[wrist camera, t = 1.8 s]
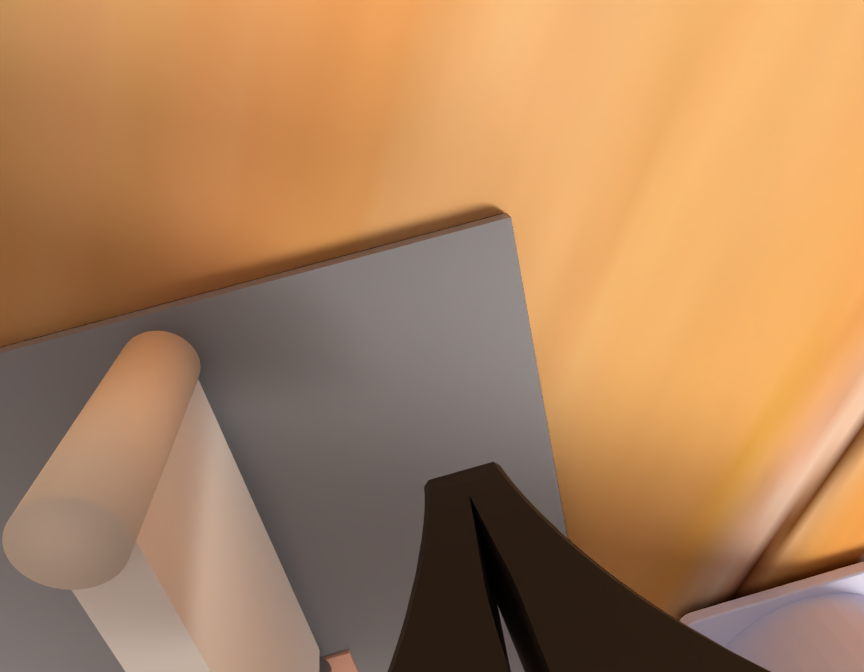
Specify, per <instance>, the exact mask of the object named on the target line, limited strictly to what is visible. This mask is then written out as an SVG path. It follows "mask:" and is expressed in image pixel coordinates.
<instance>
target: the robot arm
mask: <svg viewBox="0 0 864 672" xmlns="http://www.w3.org/2000/svg"><path fill="white" fill-rule="evenodd" d="M424 493H425V509H424V522H423V531H422V539H421V545H420V551H419V557H418V563H417V569H416V574H415V578H414V583H413V587H412V591H411V595H410V599H409V603H408V607H407V611H406V615H405V619H404V622H403V626H402V629H401V633H400V636H399V639H398V642H397V645H396V648H395V651H394V654H393V657H392V660H391V663H390V666H389V669H388V672H511V669H510V664H509V659H508V654H507V649H506V644H505V640H504V635H503V630H502V625H501V620H500V615H499V610H500V612H501V615H502V617H503V620H504V622H505V625H506V627H507V629H508V632H509V634H510V637H511V639H512V642H513V644H514V647H515V649H516V652H517V654H518V656H519V659H520V661H521V664H522V666H523V669H524V671H525V672H864V561H863V562H860V563H856V564H853V565H850V566H846V567H843V568H839V569H836V570H833V571H829V572H826V573H822V574H819V575H816V576H812V577H809V578H805V579H802V580H799V581H795V582H792V583H788V584H785V585H782V586H778V587H775V588H772V589H768V590H765V591H761V592H758V593H755V594H751V595H748V596H744V597H741V598H738V599H734V600H731V601H727V602H724V603H721V604H717V605H714V606H710V607H707V608H704V609H700V610H697V611H694V612H690V613H688V614H686V615H684V616H683V617H682V618H681V619H680V621H678V620H677V619H675V618H673V617H672V616H670V615H669V614H667V613H666V612H664V611H663V610H661V609H660V608H658V607H656V606H655V605H653V604H652V603H650V602H649V601H647V600H646V599H644V598H643V597H641V596H640V595H639V594H637V593H636V592H634V591H633V590H632V589H630V588H629V587H627V586H626V585H625V584H623V583H622V582H620V581H619V580H618V579H616V578H615V577H614V576H613V575H611V574H610V573H609V572H607V571H606V570H605V569H604V568H602V567H601V566H600V565H598V564H597V563H596V562H595V561H594V560H592V559H591V558H590V557H589V556H588V555H586V554H585V553H584V552H583V551H582V550H580V549H579V548H578V547H577V546H576V545H575V544H573V543H572V542H571V541H570V540H569V539H568V538H567V537H566V536H564V535H563V534H562V533H561V532H560V531H559V530H558V529H557V528H556V527H555V526H554V525H553V524H552V523H551V522H550V521H549V520H548V519H547V518H546V517H544V516H543V515H542V514H541V513H540V512H539V511H538V510H537V508H536V507H535V506H534V505H533V504H532V503H531V502H530V501H529V500H528V499H527V498H526V497H525V496H524V495H523V494H522V492H521V491H520V490H519V489H518V488H517V487H516V485H515V484H514V483H513V482H512V481H511V479H510V478H509V477H508V476H507V474H506V473H505V472H504V470H503V469H502V467H501V466H500V465H499V464H497V463H495V462H490V463H487V464H483V465H480V466H476V467H473V468H469V469H466V470H462V471H459V472H455V473H451V474H448V475H444V476H441V477H437V478H434V479H430V480H428V482H427V483H426V484H425V486H424ZM498 607H499V610H498Z"/></svg>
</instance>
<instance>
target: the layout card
mask: <svg viewBox="0 0 864 672" xmlns="http://www.w3.org/2000/svg"><path fill="white" fill-rule="evenodd" d="M148 331H166V332H170V333H173V334H176V335H178V336H180V337H182V338H183V339H185V340H186V341H187V342H188V343H190V344H191V346H192V347H193V348H194V349H195V351H196V352H197V354H198V357H199V359H200V365H201V370H200V375H199V378H198V380H199V382H200V384H201V386H202V389H203V391H204V393H205V395H206V397H207V400H208V402H209V404H210V406H211V409H212V411H213V413H214V415H215V418H216V420H217V422H218V424H219V426H220V429H221V431H222V433H223V435H224V438H225V440H226V442H227V444H228V447H229V449H230V451H231V453H232V455H233V458H234V460H235V462H236V464H237V467H238V469H239V471H240V473H241V476H242V478H243V480H244V482H245V484H246V487H247V489H248V491H249V493H250V496H251V498H252V500H253V502H254V505H255V507H256V509H257V511H258V514H259V516H260V518H261V520H262V522H263V525H264V527H265V529H266V531H267V534H268V536H269V538H270V540H271V543H272V545H273V547H274V549H275V551H276V554H277V556H278V558H279V560H280V563H281V565H282V567H283V569H284V572H285V574H286V576H287V578H288V580H289V583H290V585H291V587H292V589H293V592H294V594H295V596H296V598H297V601H298V603H299V605H300V607H301V609H302V612H303V614H304V616H305V618H306V621H307V623H308V625H309V627H310V630H311V632H312V634H313V636H314V638H315V641H316V643H317V645H318V647H319V650H320V655H319V656H320V657H322V658H324V659H326V660H327V661H328V662H329V664H330V665H331V669H332V672H388V669H389V666H390V663H391V660H392V657H393V654H394V651H395V648H396V645H397V642H398V639H399V636H400V633H401V629H402V626H403V622H404V619H405V615H406V611H407V607H408V603H409V599H410V595H411V591H412V587H413V583H414V578H415V574H416V569H417V563H418V557H419V551H420V545H421V539H422V531H423V522H424V509H425V493H424V486H425V484H426V483H427V482H428V480H430V479H434V478H437V477H441V476H444V475H448V474H451V473H455V472H459V471H462V470H466V469H469V468H473V467H476V466H480V465H483V464H487V463H490V462H495V463H497V464H499V465H500V466H501V467H502V469H503V470H504V472H505V473H506V474H507V476H508V477H509V478H510V479H511V481H512V482H513V483H514V484H515V485H516V487H517V488H518V489H519V490H520V491H521V492H522V494H523V495H524V496H525V497H526V498H527V499H528V500H529V501H530V502H531V503H532V504H533V505H534V506H535V507H536V508H537V510H538V511H539V512H540V513H541V514H542V515H543V516H544V517H546V518H547V519H548V520H549V521H550V522H551V523H552V524H553V525H554V526H555V527H556V528H557V529H558V530H559V531H560V532H561V533H562V534H563V535H564V536H566V537H567V532H566V527H565V521H564V515H563V510H562V504H561V498H560V493H559V487H558V481H557V476H556V470H555V464H554V459H553V453H552V447H551V442H550V436H549V430H548V425H547V419H546V413H545V408H544V402H543V396H542V391H541V385H540V379H539V374H538V368H537V362H536V357H535V351H534V345H533V340H532V334H531V328H530V323H529V317H528V311H527V306H526V300H525V294H524V289H523V283H522V277H521V272H520V266H519V260H518V255H517V249H516V243H515V238H514V232H513V226H512V221H511V217H510V216H509V215H508V214H507V213H503V214H500V215H496V216H492V217H488V218H485V219H481V220H477V221H473V222H470V223H466V224H462V225H458V226H455V227H451V228H447V229H443V230H440V231H436V232H432V233H428V234H425V235H421V236H417V237H413V238H410V239H406V240H402V241H398V242H395V243H391V244H387V245H383V246H380V247H376V248H372V249H368V250H365V251H361V252H357V253H353V254H350V255H346V256H342V257H338V258H335V259H331V260H327V261H323V262H320V263H316V264H312V265H308V266H305V267H301V268H297V269H293V270H290V271H286V272H282V273H278V274H275V275H271V276H267V277H263V278H260V279H256V280H252V281H248V282H245V283H241V284H237V285H233V286H230V287H226V288H222V289H218V290H215V291H211V292H207V293H203V294H200V295H196V296H192V297H188V298H185V299H181V300H177V301H173V302H170V303H166V304H162V305H158V306H155V307H151V308H147V309H143V310H140V311H136V312H132V313H128V314H125V315H121V316H117V317H113V318H110V319H106V320H102V321H98V322H95V323H91V324H87V325H83V326H80V327H76V328H72V329H68V330H65V331H61V332H57V333H53V334H50V335H46V336H42V337H38V338H35V339H31V340H27V341H23V342H20V343H16V344H12V345H8V346H5V347H1V348H0V672H125V671H124V669H123V668H122V666H121V664H120V663H119V661H118V660H117V658H116V657H115V655H114V654H113V652H112V651H111V649H110V648H109V646H108V645H107V643H106V642H105V640H104V639H103V637H102V636H101V634H100V633H99V631H98V630H97V628H96V627H95V625H94V624H93V622H92V621H91V619H90V618H89V616H88V614H87V613H86V611H85V610H84V608H83V607H82V605H81V604H80V602H79V601H78V599H77V598H76V596H75V595H74V593H73V592H72V590H66V589H57V588H52V587H48V586H45V585H42V584H39V583H37V582H35V581H32V580H31V579H29V578H27V577H26V576H24V575H23V574H21V573H20V572H19V571H18V570H17V569H16V568H15V567H14V566H13V565H12V564H11V563H10V561H9V560H8V558H7V556H6V554H5V552H4V549H3V544H2V535H3V530H4V528H5V525H6V523H7V522H8V520H9V518H10V517H11V515H12V514H13V512H14V511H15V509H16V508H17V506H18V505H19V503H20V502H21V500H22V499H23V497H24V496H25V494H26V493H27V491H28V490H29V488H30V487H31V485H32V484H33V482H34V481H35V479H36V478H37V476H38V475H39V473H40V472H41V471H42V469H43V468H44V466H45V465H46V463H47V462H48V460H49V459H50V457H51V456H52V454H53V453H54V451H55V450H56V448H57V447H58V445H59V444H60V442H61V441H62V439H63V438H64V436H65V435H66V433H67V432H68V430H69V429H70V427H71V426H72V424H73V423H74V421H75V420H76V418H77V417H78V415H79V414H80V412H81V411H82V409H83V408H84V406H85V405H86V403H87V402H88V400H89V399H90V397H91V396H92V394H93V393H94V391H95V390H96V388H97V387H98V385H99V384H100V382H101V381H102V379H103V378H104V376H105V375H106V373H107V372H108V370H109V369H110V367H111V366H112V364H113V363H114V361H115V360H116V358H117V357H118V355H119V354H120V352H121V351H122V350H123V348H124V347H125V345H126V344H127V343H128V342H129V341H130V340H131V339H132V338H133V337H135V336H137V335H139V334H141V333H144V332H148ZM498 610H499V607H498ZM499 615H500V620H501V625H502V630H503V635H504V640H505V644H506V649H507V654H508V659H509V664H510V669H511V672H525V671H524V669H523V666H522V664H521V661H520V659H519V656H518V654H517V652H516V649H515V647H514V644H513V642H512V639H511V637H510V634H509V632H508V629H507V627H506V625H505V622H504V620H503V617H502V615H501V612H500V610H499Z"/></svg>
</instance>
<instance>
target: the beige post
mask: <svg viewBox="0 0 864 672" xmlns="http://www.w3.org/2000/svg"><path fill="white" fill-rule="evenodd" d="M200 370H201V365H200V359H199V357H198V354H197V352H196V351H195V349H194V348H193V347H192V346H191V344H190V343H188V342H187V341H186V340H185V339H183V338H182V337H180V336H178V335H176V334H173V333H170V332H166V331H148V332H144V333H141V334H139V335H137V336H135V337H133V338H132V339H131V340H130V341H129V342H128V343H127V344H126V345H125V347H124V348H123V350H122V351H121V352H120V354H119V355H118V357H117V358H116V360H115V361H114V363H113V364H112V366H111V367H110V369H109V370H108V372H107V373H106V375H105V376H104V378H103V379H102V381H101V382H100V384H99V385H98V387H97V388H96V390H95V391H94V393H93V394H92V396H91V397H90V399H89V400H88V402H87V403H86V405H85V406H84V408H83V409H82V411H81V412H80V414H79V415H78V417H77V418H76V420H75V421H74V423H73V424H72V426H71V427H70V429H69V430H68V432H67V433H66V435H65V436H64V438H63V439H62V441H61V442H60V444H59V445H58V447H57V448H56V450H55V451H54V453H53V454H52V456H51V457H50V459H49V460H48V462H47V463H46V465H45V466H44V468H43V469H42V471H41V472H40V473H39V475H38V476H37V478H36V479H35V481H34V482H33V484H32V485H31V487H30V488H29V490H28V491H27V493H26V494H25V496H24V497H23V499H22V500H21V502H20V503H19V505H18V506H17V508H16V509H15V511H14V512H13V514H12V515H11V517H10V518H9V520H8V522H7V523H6V525H5V528H4V530H3V535H2V544H3V549H4V552H5V554H6V556H7V558H8V560H9V561H10V563H11V564H12V565H13V566H14V567H15V568H16V569H17V570H18V571H19V572H20V573H21V574H23V575H24V576H26V577H27V578H29V579H31V580H32V581H35V582H37V583H39V584H42V585H45V586H48V587H52V588H57V589H66V590H72V592H73V593H74V595H75V596H76V598H77V599H78V601H79V602H80V604H81V605H82V607H83V608H84V610H85V611H86V613H87V614H88V616H89V618H90V619H91V621H92V622H93V624H94V625H95V627H96V628H97V630H98V631H99V633H100V634H101V636H102V637H103V639H104V640H105V642H106V643H107V645H108V646H109V648H110V649H111V651H112V652H113V654H114V655H115V657H116V658H117V660H118V661H119V663H120V664H121V666H122V668H123V669H124V671H125V672H332V669H331V665H330V664H329V662H328V661H327V660H326V659H324V658H322V657H320V656H319V655H320V650H319V647H318V645H317V643H316V641H315V638H314V636H313V634H312V632H311V630H310V627H309V625H308V623H307V621H306V618H305V616H304V614H303V612H302V609H301V607H300V605H299V603H298V601H297V598H296V596H295V594H294V592H293V589H292V587H291V585H290V583H289V580H288V578H287V576H286V574H285V572H284V569H283V567H282V565H281V563H280V560H279V558H278V556H277V554H276V551H275V549H274V547H273V545H272V543H271V540H270V538H269V536H268V534H267V531H266V529H265V527H264V525H263V522H262V520H261V518H260V516H259V514H258V511H257V509H256V507H255V505H254V502H253V500H252V498H251V496H250V493H249V491H248V489H247V487H246V484H245V482H244V480H243V478H242V476H241V473H240V471H239V469H238V467H237V464H236V462H235V460H234V458H233V455H232V453H231V451H230V449H229V447H228V444H227V442H226V440H225V438H224V435H223V433H222V431H221V429H220V426H219V424H218V422H217V420H216V418H215V415H214V413H213V411H212V409H211V406H210V404H209V402H208V400H207V397H206V395H205V393H204V391H203V389H202V386H201V384H200V382H199V380H198V378H199V375H200Z"/></svg>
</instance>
